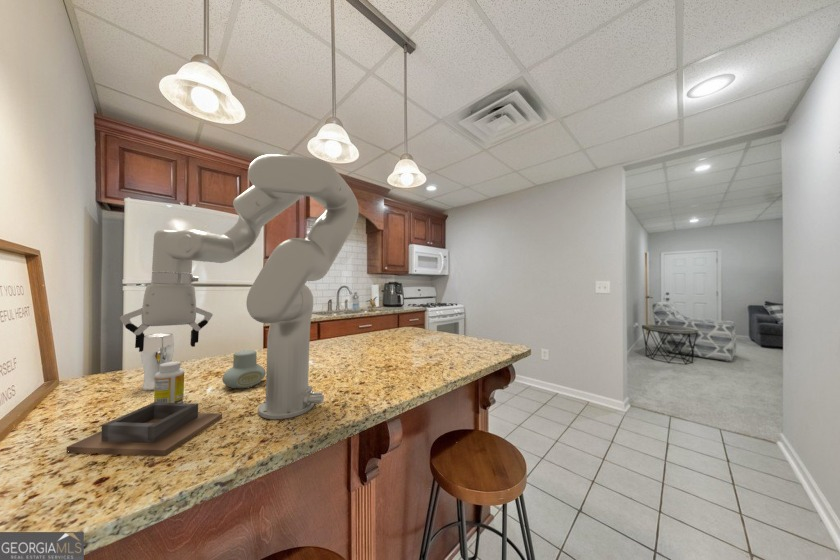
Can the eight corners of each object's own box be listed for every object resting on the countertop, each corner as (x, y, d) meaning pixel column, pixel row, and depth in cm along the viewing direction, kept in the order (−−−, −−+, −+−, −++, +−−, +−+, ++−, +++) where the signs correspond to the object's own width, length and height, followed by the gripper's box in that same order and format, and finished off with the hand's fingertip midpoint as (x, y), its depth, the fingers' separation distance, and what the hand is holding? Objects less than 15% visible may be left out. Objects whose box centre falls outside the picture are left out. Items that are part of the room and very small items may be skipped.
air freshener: (258, 377, 91) (259, 346, 91) (269, 384, 86) (270, 351, 86) (218, 387, 82) (219, 352, 83) (227, 394, 77) (228, 358, 77)
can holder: (222, 418, 64) (222, 400, 64) (164, 455, 50) (165, 433, 50) (144, 415, 64) (145, 398, 64) (66, 452, 50) (67, 430, 50)
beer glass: (176, 385, 83) (177, 334, 83) (144, 393, 77) (145, 338, 77) (167, 380, 86) (169, 332, 87) (136, 387, 81) (138, 335, 81)
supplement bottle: (181, 398, 74) (182, 359, 74) (185, 404, 70) (186, 363, 71) (152, 404, 70) (153, 363, 70) (155, 411, 66) (156, 368, 66)
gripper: (212, 281, 79) (208, 341, 79) (123, 278, 67) (119, 349, 67) (216, 281, 74) (212, 346, 74) (120, 278, 62) (116, 356, 62)
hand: (168, 348), depth 70 cm, fingers open, 9 cm apart
